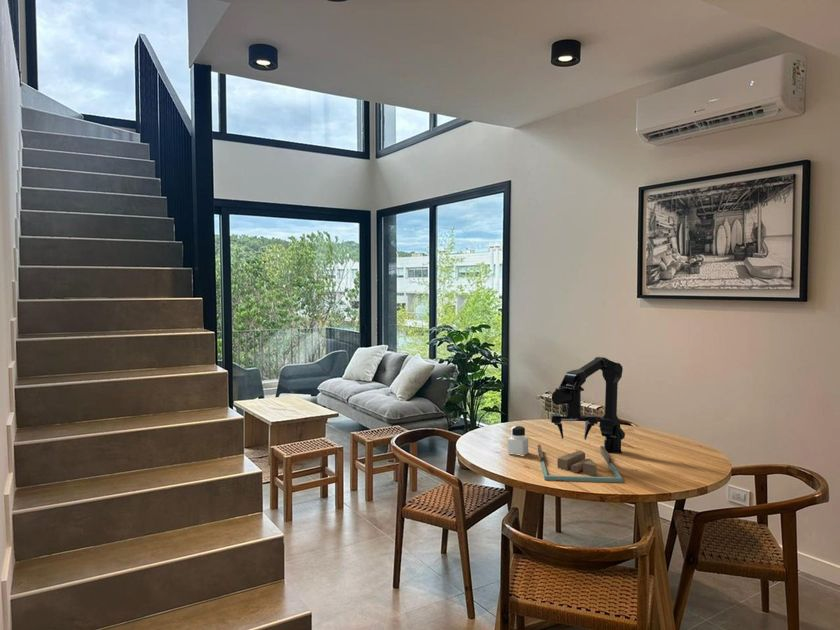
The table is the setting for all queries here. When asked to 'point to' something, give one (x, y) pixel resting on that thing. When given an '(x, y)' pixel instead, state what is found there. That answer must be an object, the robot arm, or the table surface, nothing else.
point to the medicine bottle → (518, 441)
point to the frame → (584, 478)
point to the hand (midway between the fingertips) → (573, 439)
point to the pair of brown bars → (602, 450)
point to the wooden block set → (577, 463)
